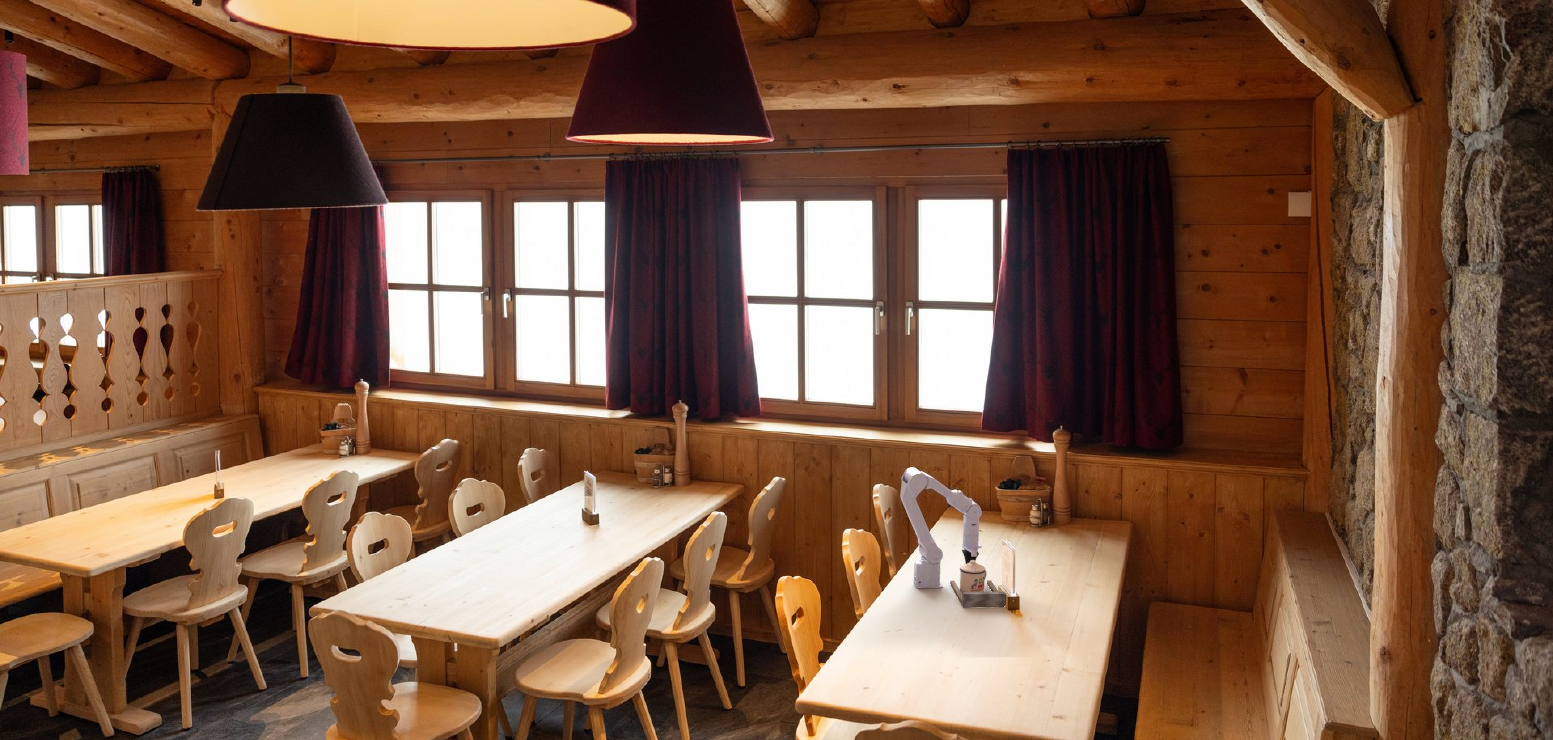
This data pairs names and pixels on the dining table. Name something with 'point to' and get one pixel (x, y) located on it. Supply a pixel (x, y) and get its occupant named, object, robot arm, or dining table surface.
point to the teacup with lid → (972, 577)
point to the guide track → (980, 597)
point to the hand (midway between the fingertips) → (969, 569)
